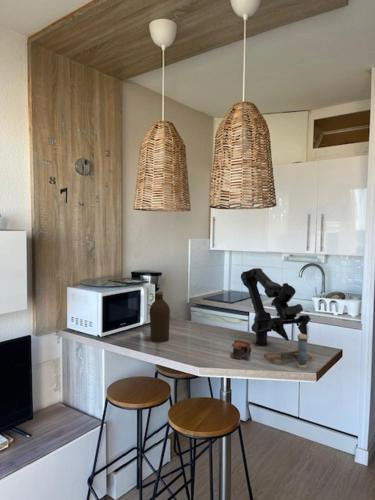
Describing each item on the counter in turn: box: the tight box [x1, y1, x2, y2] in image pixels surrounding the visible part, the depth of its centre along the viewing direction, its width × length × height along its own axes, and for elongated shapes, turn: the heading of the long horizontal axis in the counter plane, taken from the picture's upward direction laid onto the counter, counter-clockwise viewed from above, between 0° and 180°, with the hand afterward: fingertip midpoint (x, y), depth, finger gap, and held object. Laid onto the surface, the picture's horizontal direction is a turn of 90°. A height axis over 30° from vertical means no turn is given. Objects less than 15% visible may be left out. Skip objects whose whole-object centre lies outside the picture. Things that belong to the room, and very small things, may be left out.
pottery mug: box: [230, 339, 252, 361], centre depth 164 cm, size 12×10×8 cm
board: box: [263, 349, 313, 365], centre depth 162 cm, size 10×18×4 cm, turn 109°
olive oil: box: [148, 291, 171, 343], centre depth 191 cm, size 11×11×25 cm
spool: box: [296, 333, 308, 369], centre depth 152 cm, size 4×4×13 cm
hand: (297, 339), depth 155 cm, fingers open, 9 cm apart
